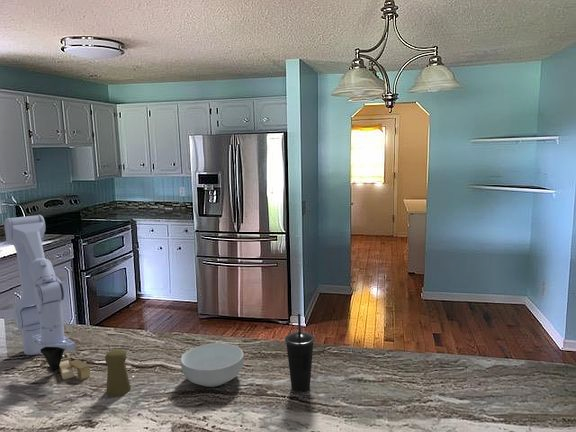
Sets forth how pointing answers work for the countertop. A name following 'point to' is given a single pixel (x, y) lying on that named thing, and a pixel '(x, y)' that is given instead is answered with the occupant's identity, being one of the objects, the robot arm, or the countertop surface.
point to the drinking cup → (300, 358)
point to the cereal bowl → (212, 364)
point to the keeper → (81, 369)
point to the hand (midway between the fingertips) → (55, 370)
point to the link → (66, 367)
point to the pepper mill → (117, 373)
